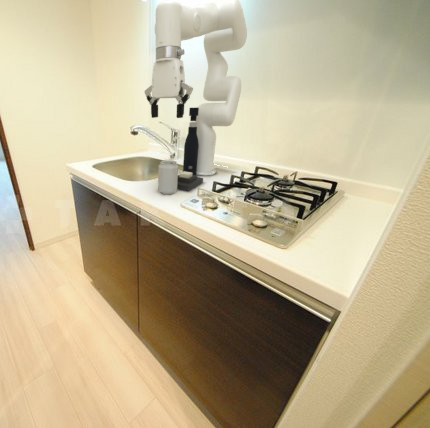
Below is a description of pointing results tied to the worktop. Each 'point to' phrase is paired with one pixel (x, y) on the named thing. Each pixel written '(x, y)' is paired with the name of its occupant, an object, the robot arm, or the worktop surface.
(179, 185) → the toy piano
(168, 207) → the worktop surface
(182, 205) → the worktop surface
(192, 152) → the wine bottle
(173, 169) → the can
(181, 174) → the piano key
